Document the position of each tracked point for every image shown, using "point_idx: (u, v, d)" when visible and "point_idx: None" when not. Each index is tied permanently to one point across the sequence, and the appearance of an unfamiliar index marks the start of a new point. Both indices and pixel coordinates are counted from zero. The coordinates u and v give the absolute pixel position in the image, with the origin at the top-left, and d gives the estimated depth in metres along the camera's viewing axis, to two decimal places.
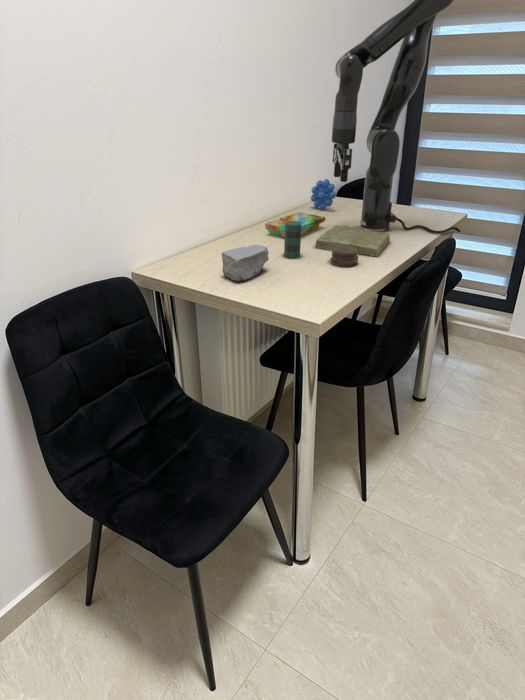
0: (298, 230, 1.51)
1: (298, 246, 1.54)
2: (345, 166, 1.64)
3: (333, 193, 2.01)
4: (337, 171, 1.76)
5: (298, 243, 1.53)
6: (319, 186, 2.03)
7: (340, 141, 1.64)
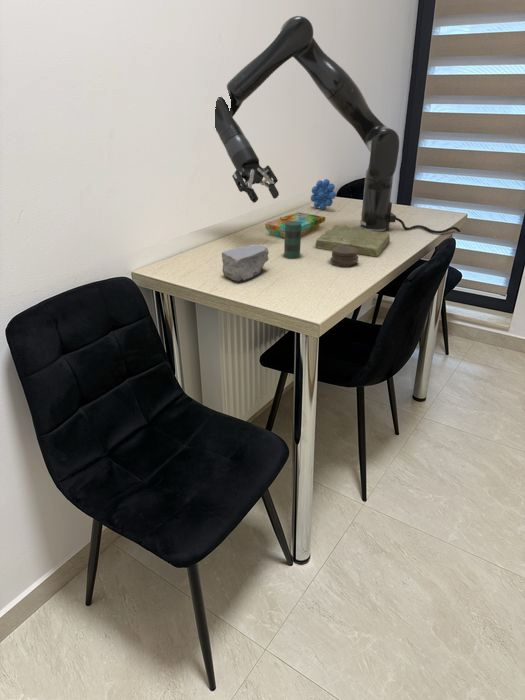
0: (298, 230, 1.51)
1: (298, 246, 1.54)
2: (239, 188, 1.54)
3: (333, 193, 2.01)
4: (272, 192, 1.59)
5: (298, 243, 1.53)
6: (319, 186, 2.03)
7: (237, 170, 1.57)
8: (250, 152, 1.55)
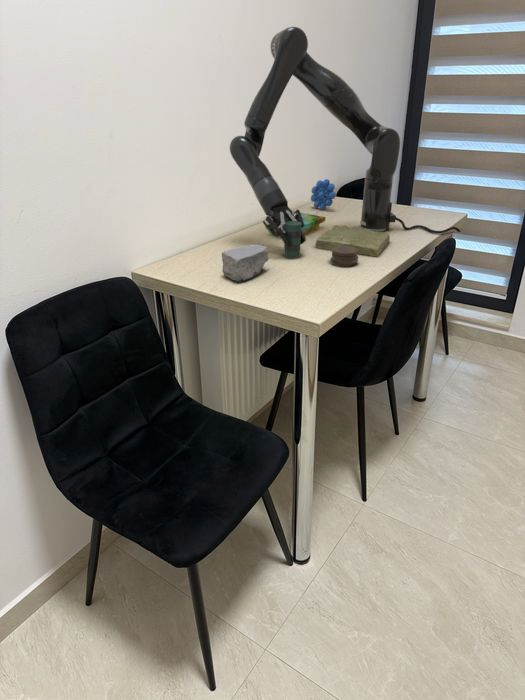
0: (298, 230, 1.51)
1: (298, 246, 1.54)
2: (274, 233, 1.51)
3: (333, 193, 2.01)
4: None
5: (298, 243, 1.53)
6: (319, 186, 2.03)
7: (265, 212, 1.55)
8: (279, 194, 1.52)
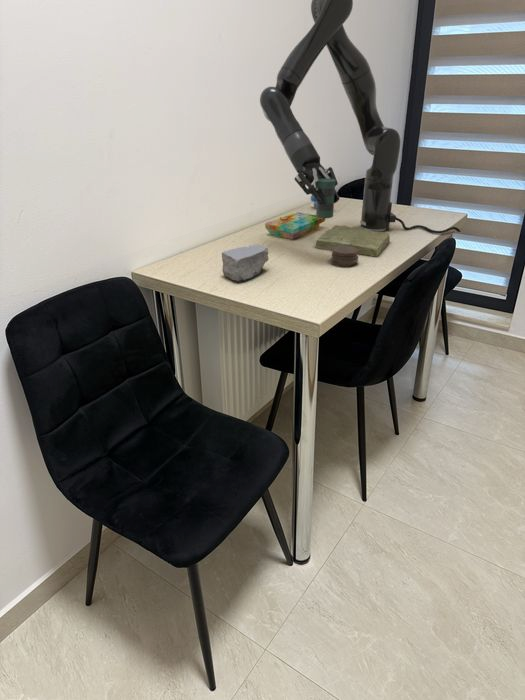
0: (332, 187, 1.42)
1: (332, 205, 1.44)
2: (306, 191, 1.42)
3: None
4: None
5: (332, 202, 1.44)
6: None
7: (296, 169, 1.45)
8: (311, 150, 1.43)
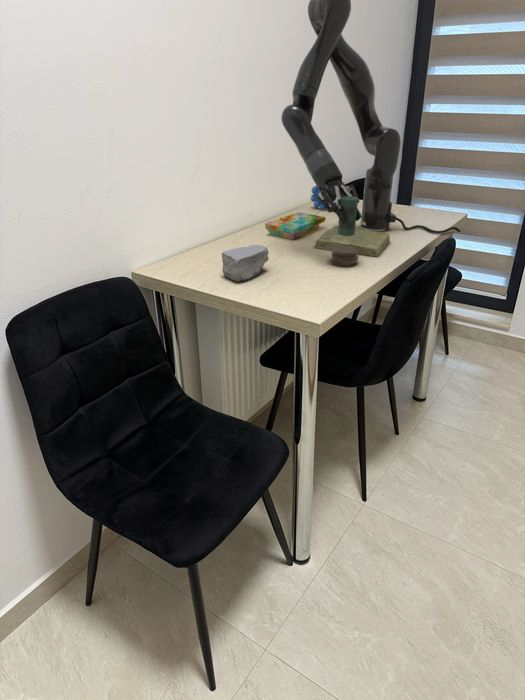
0: (355, 205, 1.42)
1: (354, 223, 1.44)
2: (329, 209, 1.42)
3: None
4: None
5: (354, 220, 1.44)
6: None
7: (318, 187, 1.45)
8: (334, 168, 1.43)
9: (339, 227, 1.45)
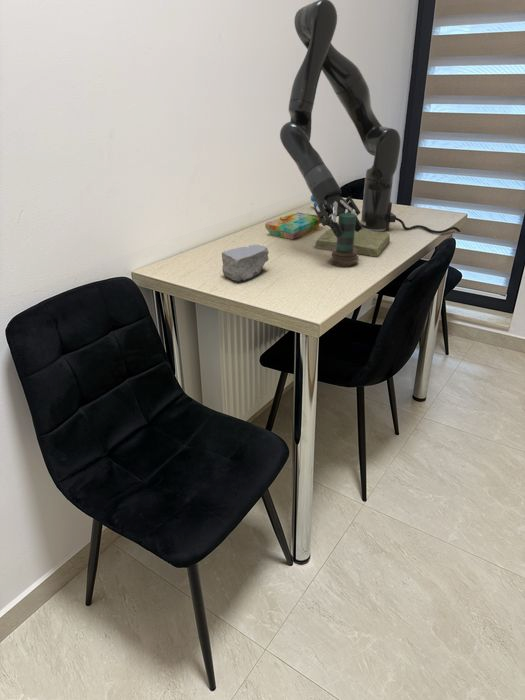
0: (353, 222, 1.44)
1: (352, 239, 1.46)
2: (323, 223, 1.43)
3: None
4: (355, 225, 1.49)
5: (352, 236, 1.46)
6: None
7: (317, 202, 1.47)
8: (333, 183, 1.45)
9: (338, 243, 1.48)
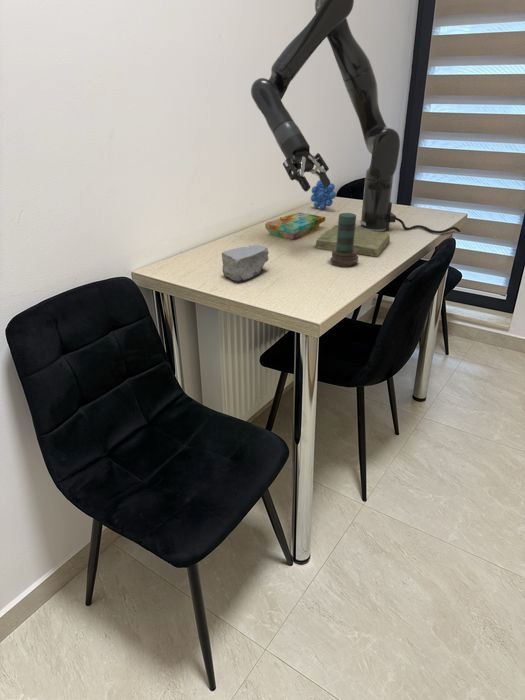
0: (353, 222, 1.44)
1: (352, 239, 1.46)
2: (291, 177, 1.46)
3: (333, 193, 2.01)
4: (324, 181, 1.52)
5: (352, 236, 1.46)
6: (319, 186, 2.03)
7: (286, 158, 1.50)
8: (301, 139, 1.48)
9: (338, 243, 1.48)
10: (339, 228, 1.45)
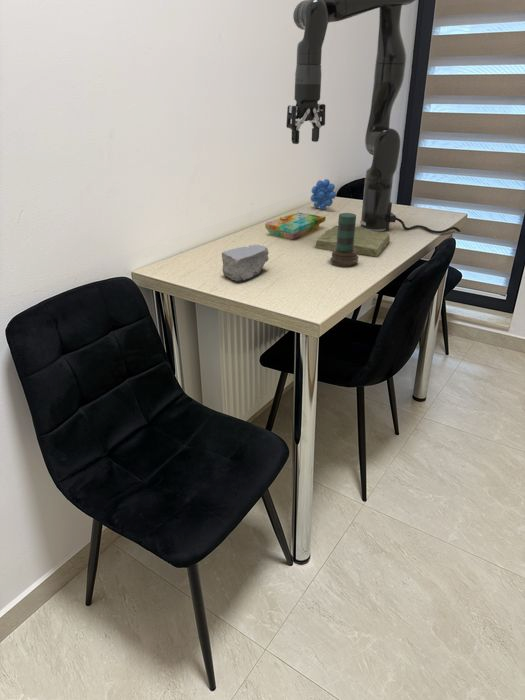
0: (353, 222, 1.44)
1: (352, 239, 1.46)
2: (287, 125, 1.50)
3: (333, 193, 2.01)
4: (314, 135, 1.58)
5: (352, 236, 1.46)
6: (319, 186, 2.03)
7: (295, 98, 1.50)
8: (316, 91, 1.48)
9: (338, 243, 1.48)
10: (339, 228, 1.45)
